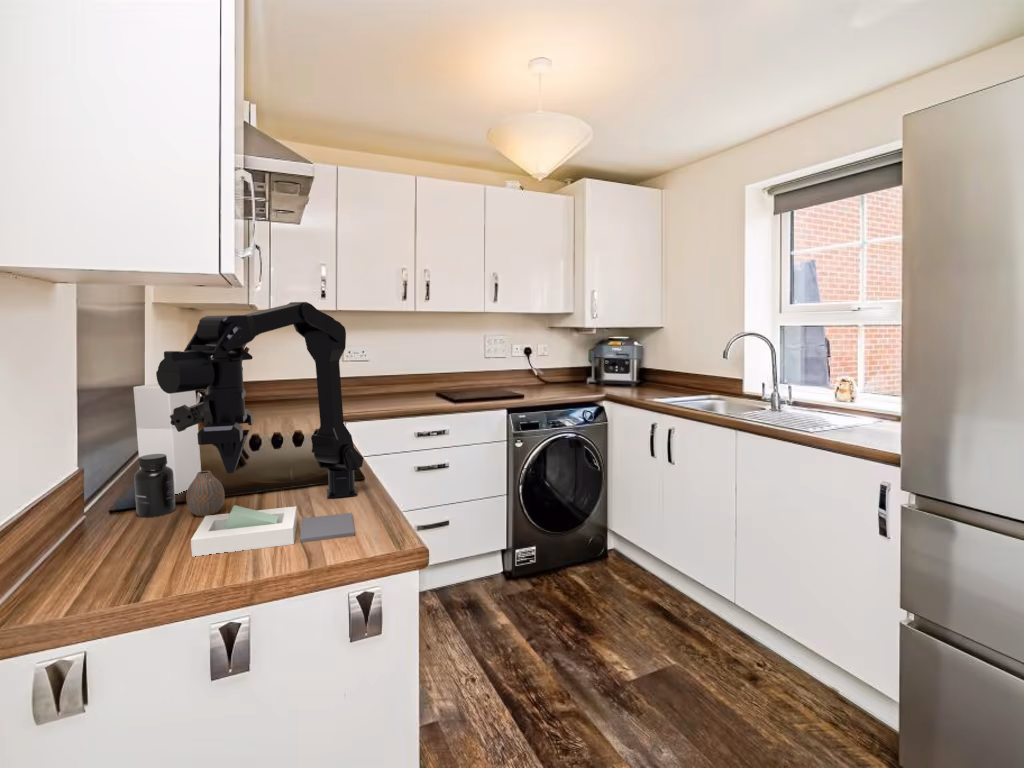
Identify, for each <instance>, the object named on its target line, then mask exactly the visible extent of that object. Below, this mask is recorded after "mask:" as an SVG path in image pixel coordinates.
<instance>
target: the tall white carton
mask: <svg viewBox="0 0 1024 768" xmlns="http://www.w3.org/2000/svg"><path fill="white" fill-rule="evenodd" d="M196 397H197V396H196V391H188V392H180V393H172V394H168V393H166V392H164V391H163V390H162V389H161V388H160V386H159V384H158V382H157V383H151V384H144V385H138V386H137V385H136V386H133V398H134V409H135V411H134V412H135V424H136V437H137V449H138V450H137V451H138V458H139V457H142V456H145V455H150V454H166V456H167V464H166V466H168V467H170V468H171V469H172V470H173V476H174V492H175V494H178V495H180V494H182V493H184V492H183V491H185V492H187V491H186V490H188V488H189V486H190V484H191V483H192V482H193V480H194V479H195V477H196V475H197V473H198V472H201V471H202V465H201V452H200V449H201V448H200V445H198V436H197V433H198V432H199V423H198V424H196V425H193V426H191V427H188V428H186V430H183V431H181V432H178V431H177V429H176V427H175V425H172V424H171V423H170V422H171V418H170V415H172V414H173V410H174V409H175V408H177V407H180V406H183V405H186V406H188V407H191V406H193V405H196V404H197V398H196ZM140 469H141V467H139V470H140ZM181 492H182V493H181ZM179 493H180V494H179Z"/></svg>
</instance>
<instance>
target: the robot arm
mask: <svg viewBox="0 0 1024 768" xmlns="http://www.w3.org/2000/svg"><path fill="white" fill-rule="evenodd" d="M198 321H199V322H198V324H197V328H196V331H195V333H194V334H193V336H192V337H191V338H190V340H189V342H188V344H187V345H186V347H185V348H184V351H179V350H177V351H175V350H168V351H167V350H166V351H164V352H163V358H162V360H160V363H159V365H158V367H157V370H156V373H155V374H156V376H155V377H156V382H157V383H158V384H159V386H160V388H161V389H162V390H163V391H164V392H166V393H168V394H172V393H180V392H188V391H195V392H196V391H203V390H206V391H207V393H205V394H204V396H203V399H202V400H203V401H202V402H199V403H196V405H193V406H191V407H188V406H186V405H183V406H180V407H177V408H175V409H174V410H173V414H172V415H170V418H171V422H170V423H171V424H172V425H175V427H176V429H177V431H178V432H181V431H183V430H186V428H188V427H191V426H193V425H196V424H198V425H199V424H200V423H204V426H203V427H202V428H201V429H200V430H198V433H197V436H198V445H199V446H205V445H213V446H215V447H216V448H217V450H218V453H219V455H220V457H221V461H222V463H223V467H224V469H225V472H226V473H227V474H234V473H235V471H236V469H237V467H238V463H239V460H240V459H241V455H242V452H243V449H244V446H245V444H246V442H247V438H248V436H249V433H250V429H243V426H242V425H241V424H247V425H248V426H253V424H254V413H253V412H251V411H250V410H249V409H248V408H247V409H246V407H245V397H246V395H247V393H246V390H245V389H244V388H245V387H244V375H243V374H244V373H243V372H244V371H243V361H249V360H253V356H252V355H251V354H250V353H249V352H248V351H246V350H245V349H244V347H243V346H245V345H247V344H249V343H251V342H252V341H253V340H254V339H255V338H256V337H257V336H259V335H261V334H264V333H267V332H271V331H274V330H278V329H282V328H285V327H289V326H292V325H293V327H294V329H295V331H296V332H297V333H298V334H299V335H300V336H302V338H304V340H305V346H306V350H307V352H308V354H310V356H311V358H312V359H313V360H314V364H315V373H316V385H317V397H318V398H317V400H318V410H319V424H320V425H319V428H318V430H317V432H316V434H312V435H311V436H310V439H311V445H312V447H311V453H313V455H314V458H315V460H316V461H317V464H318V466H319V468H321V469H327V474H328V476H327V477H328V478H327V479H328V481H327V482H328V488H326V498H327V499H335V498H336V499H338V498H345V497H355V496H358V491H357V485H355V471H358V470H359V469H360V468H362V467H363V463H364V457H363V455H361V454H360V453H359V452H358V450H356V448H355V446H354V441H353V436H352V434H351V433H350V431H349V430H348V428H347V427H346V425H345V423H344V410H343V408H344V407H343V398H342V385H341V383H342V382H341V369H340V360H341V358H342V355H343V354H344V353H345V350H346V342H347V341H346V339H347V332H346V328H345V326H344V325H343V324H342V322H340V321H338V320H336V319H334V317H333V316H331V315H328V314H327V313H325V312H323V311H320V310H319V309H317V308H316V307H315V306H314V305H313V304H311V303H310V302H307V301H291V302H289V303H287V304H283V305H280V306H276V307H275V306H274V307H271V308H267V309H266V308H265V309H263V310H262V309H261V310H259V311H253V312H250V313H246V314H230V315H229V314H227V315H226V314H225V315H222V314H221V315H219V314H218V315H206V316H203V317H201V318H200V319H199V320H198Z"/></svg>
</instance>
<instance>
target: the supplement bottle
mask: <svg viewBox="0 0 1024 768" xmlns="http://www.w3.org/2000/svg"><path fill="white" fill-rule="evenodd" d="M166 464H167V456H166V454H150V455H145V456H142V457H139V456H138V467H139V469H138V470H137V471H136V472H135V473H134V476H133V480H134V482H133V483H134V494H135V495H134V498H135V508H136V509H135V510H136V514H137V515H138V516H139V517H141V518H154V517H155V516H157V517H160V515H162V516H165V515H168V514H170V513H172V512H174V510H175V509H176V495H175V492H174V476H173V470H172V469H171V468H170V467H168V466H166ZM140 467H141V469H140ZM164 514H165V515H164ZM155 518H156V517H155Z"/></svg>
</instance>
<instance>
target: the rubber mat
mask: <svg viewBox="0 0 1024 768" xmlns="http://www.w3.org/2000/svg"><path fill="white" fill-rule="evenodd" d="M300 524H301V525H300V526H301V528H300V534H299V543H305V542H313V541H320V540H329V539H330V540H331V539H337V538H346V537H353V536H355V527H354V525H355V524H354V519H353V513H352V512H346V513H339V514H338V513H336V514H327V515H320V516H319V515H318V516H311V517H303V518H301V523H300Z"/></svg>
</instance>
